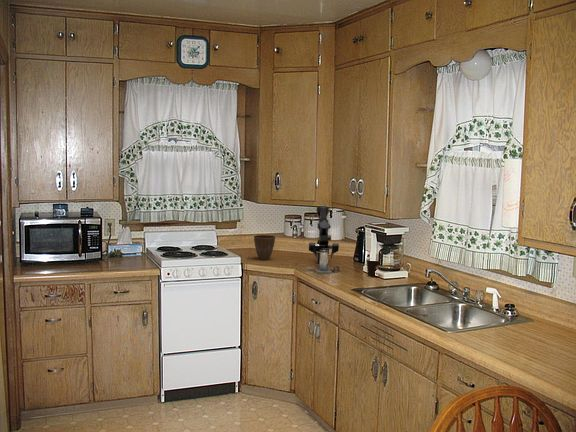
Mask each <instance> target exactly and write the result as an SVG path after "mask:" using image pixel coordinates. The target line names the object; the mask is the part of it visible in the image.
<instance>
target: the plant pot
mask: <svg viewBox="0 0 576 432" xmlns="http://www.w3.org/2000/svg"><path fill="white" fill-rule="evenodd" d="M253 242H254V247H255V251H256V255H257V258H258V260H260V261H269V260H270V258H271V256H272V254H273V251H274V246H275V242H276V236H275V235H270V234H258V235H257V234H256V235H253Z"/></svg>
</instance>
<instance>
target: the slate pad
mask: <svg viewBox="0 0 576 432" xmlns="http://www.w3.org/2000/svg"><path fill="white" fill-rule="evenodd" d="M314 271H315V272H316V274H323V275H325V274H327V275H328V274H333V271H332V270H331V269H330V268H328V271H319V268H315V269H314Z"/></svg>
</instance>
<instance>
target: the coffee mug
mask: <svg viewBox="0 0 576 432" xmlns="http://www.w3.org/2000/svg"><path fill="white" fill-rule="evenodd" d="M370 259H371V258H367V259H366V268H367V277H369V276H371V277H372V278H375V277H374V276H375V271H376V270H377V269H378V267H379V263H380V264H381V262H380V261H370ZM371 277H370V278H371Z"/></svg>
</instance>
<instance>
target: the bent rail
mask: <svg viewBox="0 0 576 432" xmlns="http://www.w3.org/2000/svg"><path fill="white" fill-rule="evenodd" d="M340 268H341V266H340V265H339V264H336V265H335V266H333V271H332V273H334V274H338V272H340V271H341V270H340Z"/></svg>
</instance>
